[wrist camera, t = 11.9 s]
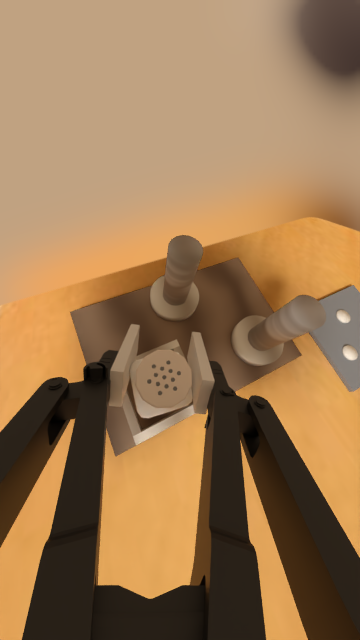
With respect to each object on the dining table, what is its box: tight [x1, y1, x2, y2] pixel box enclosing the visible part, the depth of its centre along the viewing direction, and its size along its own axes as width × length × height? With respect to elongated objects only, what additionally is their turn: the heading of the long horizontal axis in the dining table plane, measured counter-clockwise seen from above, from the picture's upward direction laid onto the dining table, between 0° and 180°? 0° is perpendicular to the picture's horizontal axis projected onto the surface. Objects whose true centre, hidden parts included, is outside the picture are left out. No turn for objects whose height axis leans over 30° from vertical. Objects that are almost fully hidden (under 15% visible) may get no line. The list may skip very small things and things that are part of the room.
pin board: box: [70, 235, 326, 456], centre depth 21 cm, size 24×16×11 cm, turn 115°
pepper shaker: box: [129, 350, 193, 418], centre depth 15 cm, size 4×4×10 cm
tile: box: [309, 285, 360, 392], centre depth 29 cm, size 12×12×1 cm
